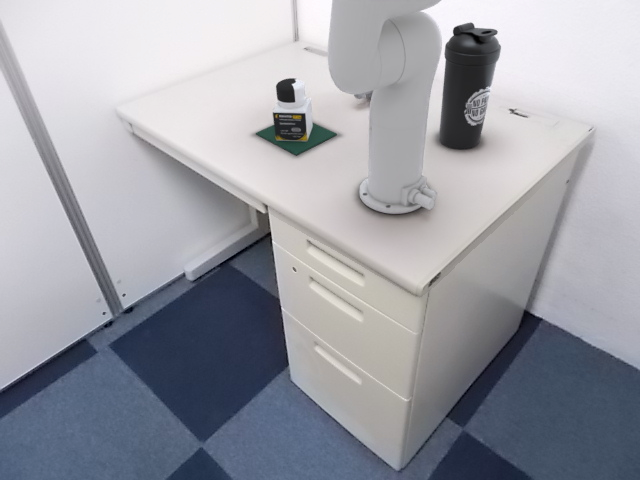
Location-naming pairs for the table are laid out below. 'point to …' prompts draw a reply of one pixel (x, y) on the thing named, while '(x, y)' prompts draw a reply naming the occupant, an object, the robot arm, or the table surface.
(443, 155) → the table surface
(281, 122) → the medicine bottle
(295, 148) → the cutting mat
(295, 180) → the table surface
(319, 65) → the table surface
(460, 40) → the water bottle
